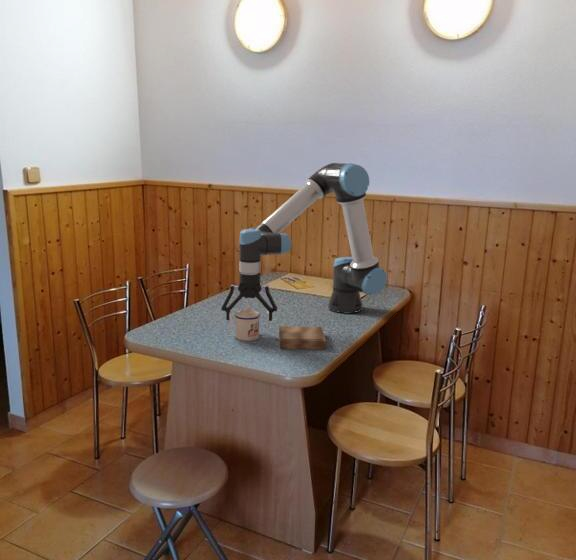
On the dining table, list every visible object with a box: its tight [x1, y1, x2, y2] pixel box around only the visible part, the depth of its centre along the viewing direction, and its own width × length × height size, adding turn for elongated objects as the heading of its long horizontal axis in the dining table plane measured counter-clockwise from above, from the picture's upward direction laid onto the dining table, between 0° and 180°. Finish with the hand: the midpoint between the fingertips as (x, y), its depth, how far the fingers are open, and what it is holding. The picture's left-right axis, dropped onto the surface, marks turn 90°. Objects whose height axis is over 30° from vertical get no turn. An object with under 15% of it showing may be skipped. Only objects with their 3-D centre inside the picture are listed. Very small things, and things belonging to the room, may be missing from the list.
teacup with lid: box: [234, 305, 261, 342], centre depth 201 cm, size 12×9×12 cm
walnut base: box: [278, 325, 327, 350], centre depth 198 cm, size 16×16×3 cm
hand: (249, 329), depth 202 cm, fingers open, 13 cm apart
